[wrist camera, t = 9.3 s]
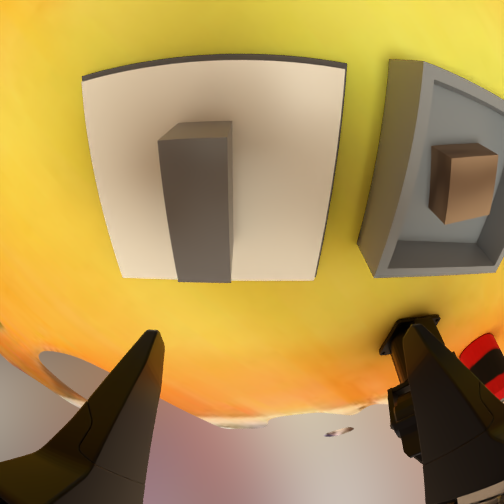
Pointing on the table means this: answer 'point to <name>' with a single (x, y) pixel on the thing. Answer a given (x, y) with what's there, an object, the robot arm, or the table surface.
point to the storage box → (419, 172)
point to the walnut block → (461, 181)
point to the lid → (215, 167)
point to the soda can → (486, 363)
